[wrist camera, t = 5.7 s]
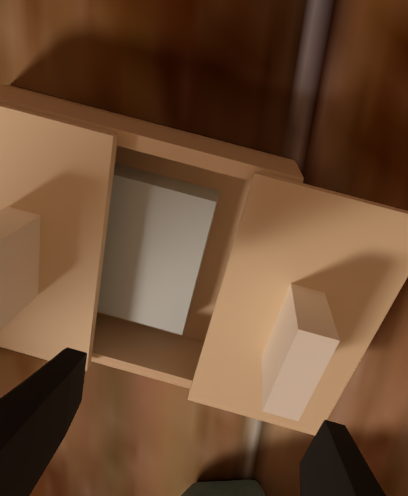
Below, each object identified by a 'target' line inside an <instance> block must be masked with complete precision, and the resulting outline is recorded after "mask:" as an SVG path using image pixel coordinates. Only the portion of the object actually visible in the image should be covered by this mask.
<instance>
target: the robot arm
mask: <svg viewBox="0 0 408 496" xmlns="http://www.w3.org/2000/svg"><path fill="white" fill-rule="evenodd" d="M86 359H87V353H86V352H82V351H79V350H75V349H72V348H68V347H67V348H65V349H63V350H62V351H61V352H60V353H58V354H57V355H56V356H55V357H54V358H52V359H51V360H50V361H49V362H48V363H46V364H45V365H44V366H43V367H41V368H40V369H39V370H38V371H36V372H35V373H34V374H32V375H31V376H30V377H29V378H27V379H26V380H25V381H23V382H22V383H21V384H19V385H18V386H17V387H15V388H14V389H12V390H11V391H10V392H8V393H7V394H6V395H4V396H3V397H2V398H0V496H29V495H30V494H31V492H32V490H33V489H34V487H35V485H36V484H37V482H38V480H39V479H40V477H41V475H42V474H43V472H44V470H45V469H46V467H47V465H48V464H49V462H50V460H51V459H52V457H53V455H54V453H55V452H56V450H57V448H58V447H59V445H60V443H61V442H62V440H63V438H64V437H65V435H66V433H67V431H68V429H69V426H70V424H71V422H72V420H73V418H74V416H75V414H76V411H77V409H78V407H79V405H80V403H81V400H82V392H83V384H84V375H85V367H86ZM300 496H386V495H385V494H384V492H383V490H382V488H381V487H380V485H379V483H378V482H377V480H376V478H375V477H374V475H373V473H372V471H371V470H370V468H369V466H368V465H367V463H366V461H365V459H364V458H363V456H362V454H361V452H360V451H359V449H358V447H357V445H356V444H355V442H354V440H353V438H352V437H351V435H350V433H349V432H348V430H347V428H346V427H345V425H342V424H338V423H335V422H331V421H328V420H324V421H323V423H322V425H321V427H320V428H319V430H318V432H317V434H316V435H315V437H314V439H313V441H312V442H311V444H310V446H309V448H308V449H307V451H306V453H305V455H304V456H303V458H302V460H301V462H300Z"/></svg>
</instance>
